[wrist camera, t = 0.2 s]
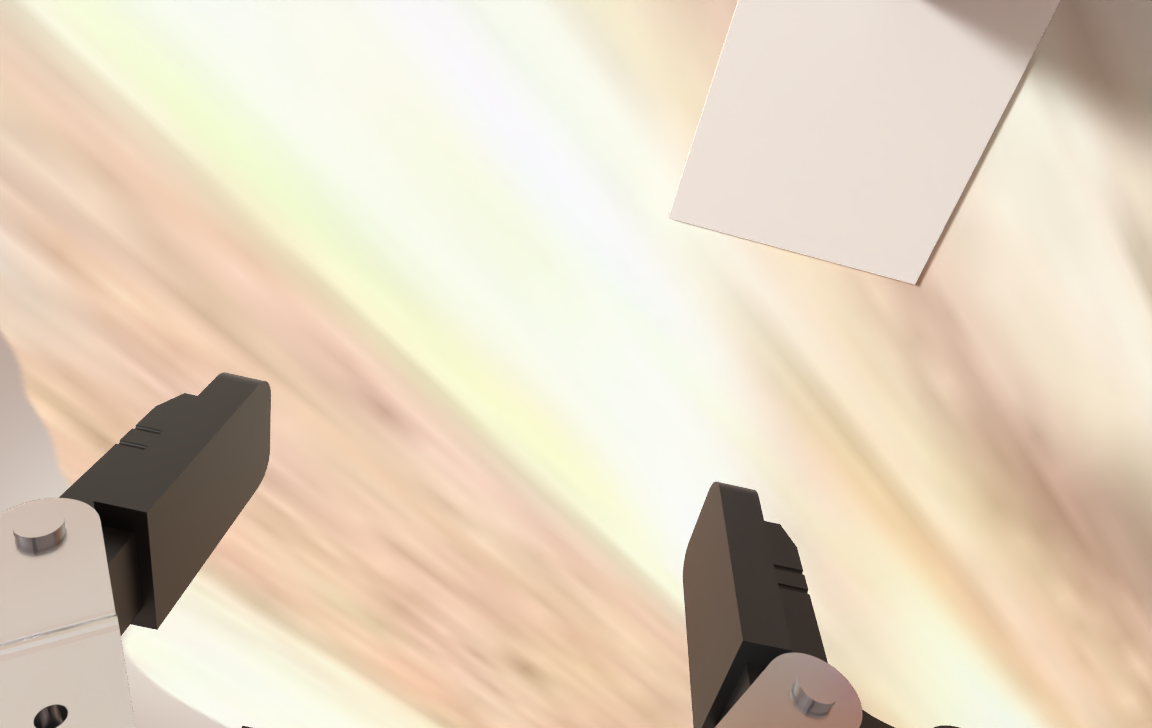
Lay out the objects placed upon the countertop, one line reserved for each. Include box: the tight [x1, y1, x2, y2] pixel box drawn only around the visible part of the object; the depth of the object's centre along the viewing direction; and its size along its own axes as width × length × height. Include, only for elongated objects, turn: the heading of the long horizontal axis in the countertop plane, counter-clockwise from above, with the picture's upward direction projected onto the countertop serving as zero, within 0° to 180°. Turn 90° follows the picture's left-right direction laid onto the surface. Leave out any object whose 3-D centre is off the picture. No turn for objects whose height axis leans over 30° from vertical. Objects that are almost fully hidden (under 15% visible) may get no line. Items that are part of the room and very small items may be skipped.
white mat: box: [668, 0, 1061, 285], centre depth 37 cm, size 16×14×1 cm
